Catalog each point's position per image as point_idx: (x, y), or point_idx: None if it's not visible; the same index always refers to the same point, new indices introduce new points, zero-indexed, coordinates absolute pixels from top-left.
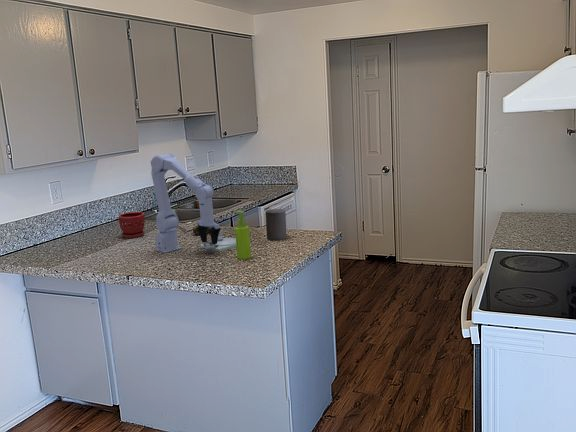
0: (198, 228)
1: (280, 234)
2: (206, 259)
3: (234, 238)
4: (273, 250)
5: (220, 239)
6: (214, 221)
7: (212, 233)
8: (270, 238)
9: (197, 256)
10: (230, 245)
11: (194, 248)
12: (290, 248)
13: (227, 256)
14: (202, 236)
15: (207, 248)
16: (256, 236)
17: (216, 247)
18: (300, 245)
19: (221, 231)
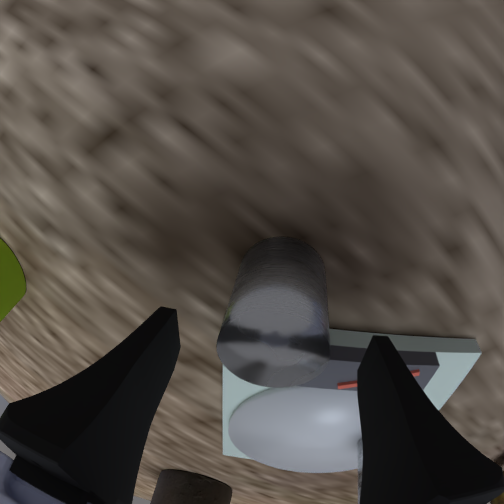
0: (436, 500)
1: (155, 488)
2: (108, 90)
3: (315, 469)
4: (43, 383)
5: (361, 446)
6: (493, 501)
7: (43, 395)
8: (184, 478)
9: (288, 112)
10: (234, 408)
11: (498, 306)
12: None
13: (64, 244)
14: (386, 398)
15: (263, 267)
16: (290, 492)
17: None
18: None
19: (358, 496)
